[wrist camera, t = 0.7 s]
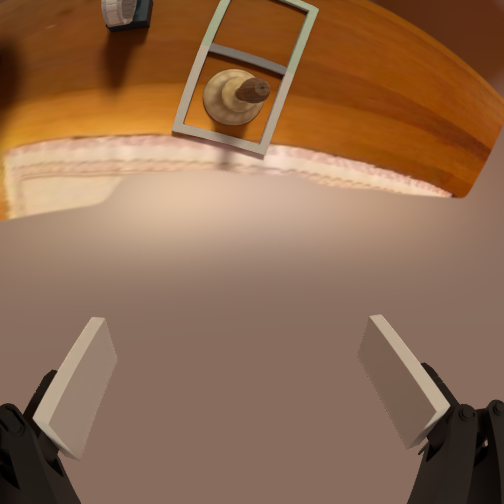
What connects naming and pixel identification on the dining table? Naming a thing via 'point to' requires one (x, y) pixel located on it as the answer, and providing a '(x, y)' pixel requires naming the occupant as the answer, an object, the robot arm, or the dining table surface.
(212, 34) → the window frame
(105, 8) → the watch
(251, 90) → the hand bell
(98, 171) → the dining table surface
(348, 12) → the dining table surface
